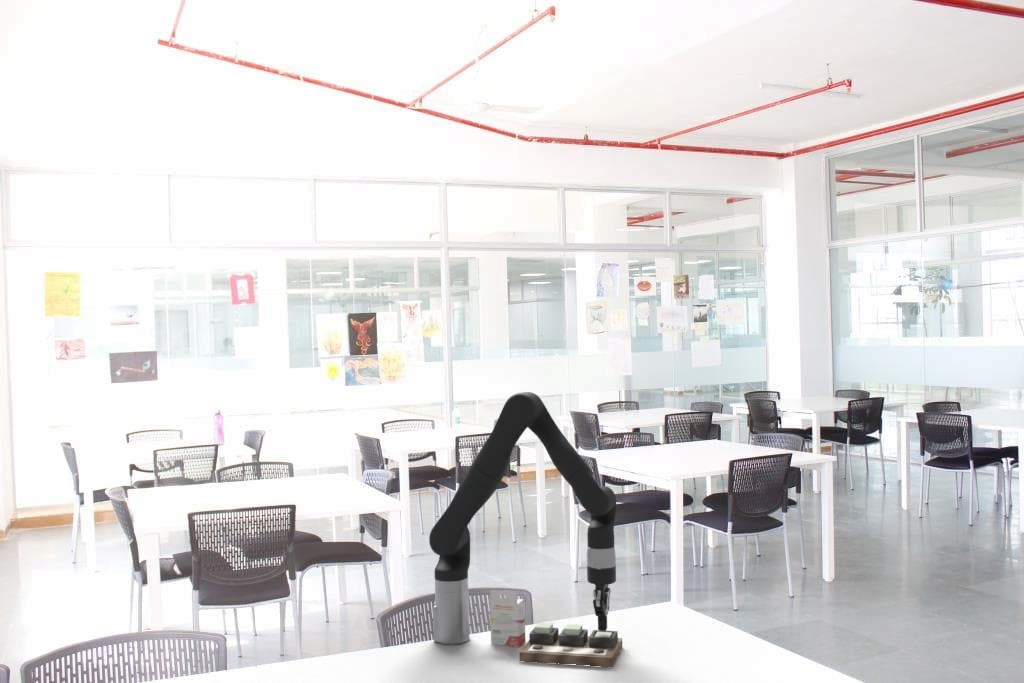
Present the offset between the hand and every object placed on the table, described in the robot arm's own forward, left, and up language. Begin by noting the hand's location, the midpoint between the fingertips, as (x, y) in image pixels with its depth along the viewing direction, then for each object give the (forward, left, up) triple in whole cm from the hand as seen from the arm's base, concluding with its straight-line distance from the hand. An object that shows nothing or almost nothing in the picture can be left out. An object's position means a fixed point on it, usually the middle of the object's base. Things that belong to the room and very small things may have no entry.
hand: (602, 629), depth 244 cm
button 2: (0, 0, -3) cm, 3 cm away
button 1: (-16, 0, -2) cm, 16 cm away
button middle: (-8, 0, -2) cm, 8 cm away
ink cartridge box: (-27, +3, -6) cm, 28 cm away
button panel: (-8, -3, -6) cm, 10 cm away
